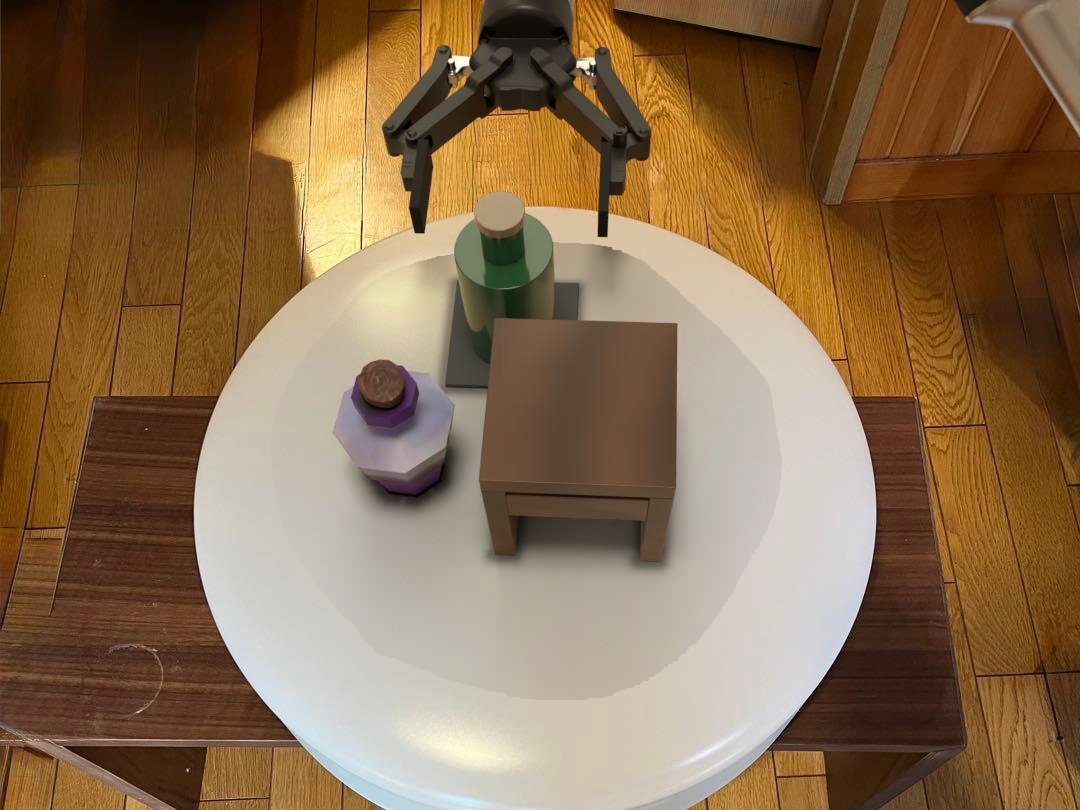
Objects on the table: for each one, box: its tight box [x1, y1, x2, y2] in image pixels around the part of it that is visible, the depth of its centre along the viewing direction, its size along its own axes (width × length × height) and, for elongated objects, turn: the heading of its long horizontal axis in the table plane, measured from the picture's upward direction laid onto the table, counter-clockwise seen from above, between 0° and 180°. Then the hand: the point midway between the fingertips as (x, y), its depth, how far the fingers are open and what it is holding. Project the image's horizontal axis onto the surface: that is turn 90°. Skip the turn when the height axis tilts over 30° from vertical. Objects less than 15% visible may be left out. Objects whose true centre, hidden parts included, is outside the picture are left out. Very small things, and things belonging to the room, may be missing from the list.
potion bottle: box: [332, 358, 456, 499], centre depth 68 cm, size 9×9×12 cm
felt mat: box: [444, 279, 580, 389], centre depth 77 cm, size 10×10×1 cm
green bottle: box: [453, 190, 556, 364], centre depth 71 cm, size 7×7×14 cm
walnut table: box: [478, 318, 678, 562], centre depth 67 cm, size 12×12×12 cm
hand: (509, 223), depth 70 cm, fingers open, 13 cm apart
